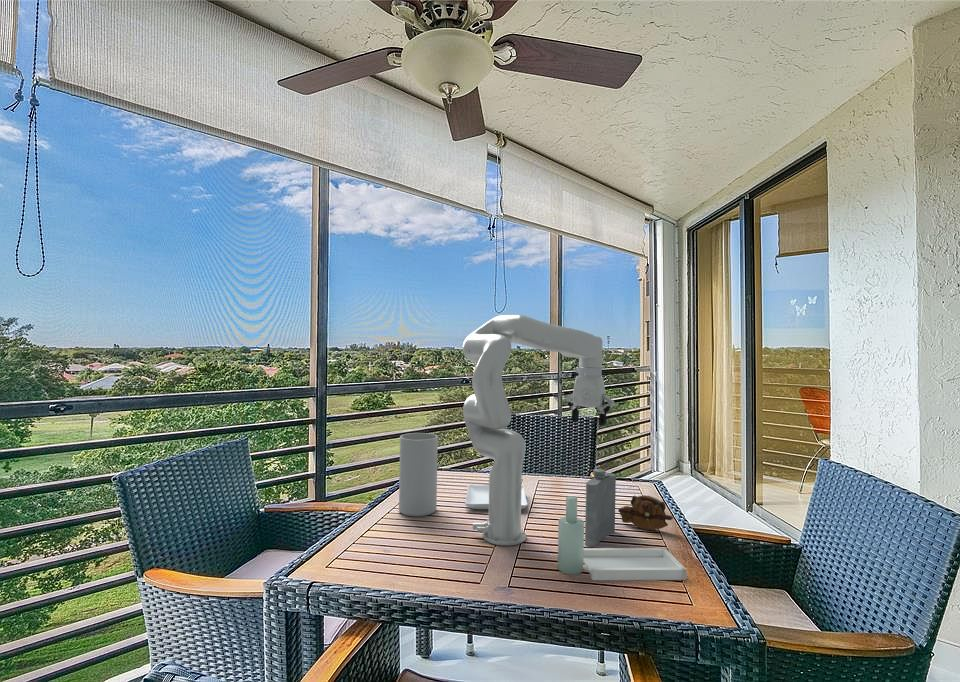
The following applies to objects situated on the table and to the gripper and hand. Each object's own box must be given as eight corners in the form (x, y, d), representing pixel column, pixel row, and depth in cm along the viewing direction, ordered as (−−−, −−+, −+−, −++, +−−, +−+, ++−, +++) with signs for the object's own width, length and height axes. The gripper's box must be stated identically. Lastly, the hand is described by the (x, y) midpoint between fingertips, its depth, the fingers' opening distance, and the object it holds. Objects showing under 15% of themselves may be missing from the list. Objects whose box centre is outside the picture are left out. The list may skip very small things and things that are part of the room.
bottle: (560, 574, 126) (561, 502, 126) (555, 563, 133) (556, 494, 133) (585, 574, 127) (587, 502, 126) (579, 562, 133) (581, 494, 133)
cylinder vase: (396, 517, 164) (397, 439, 164) (401, 504, 177) (402, 432, 176) (435, 517, 165) (436, 440, 164) (437, 504, 177) (438, 433, 177)
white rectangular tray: (592, 580, 123) (592, 570, 123) (579, 557, 136) (580, 548, 136) (686, 579, 124) (686, 569, 124) (664, 557, 137) (665, 548, 137)
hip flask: (593, 548, 143) (594, 476, 143) (580, 544, 145) (581, 474, 145) (616, 531, 155) (617, 466, 155) (604, 528, 158) (605, 463, 158)
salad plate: (528, 514, 170) (528, 504, 170) (464, 512, 170) (464, 502, 170) (523, 494, 191) (524, 485, 191) (467, 493, 192) (467, 484, 192)
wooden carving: (616, 526, 159) (617, 494, 159) (619, 521, 164) (620, 490, 163) (672, 536, 152) (673, 503, 152) (674, 531, 156) (674, 498, 156)
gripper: (561, 371, 173) (560, 421, 173) (609, 374, 163) (608, 428, 163) (572, 371, 179) (570, 419, 179) (619, 374, 169) (617, 425, 169)
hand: (588, 423), depth 171 cm, fingers open, 9 cm apart
